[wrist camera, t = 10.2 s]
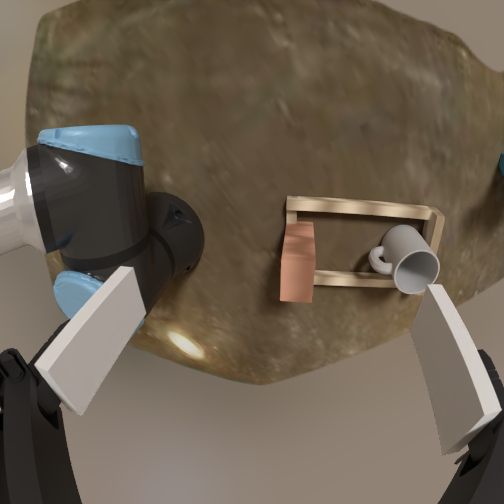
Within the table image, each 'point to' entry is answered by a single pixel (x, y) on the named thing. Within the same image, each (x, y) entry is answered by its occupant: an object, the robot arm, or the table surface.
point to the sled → (303, 246)
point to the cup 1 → (406, 259)
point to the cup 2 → (502, 163)
